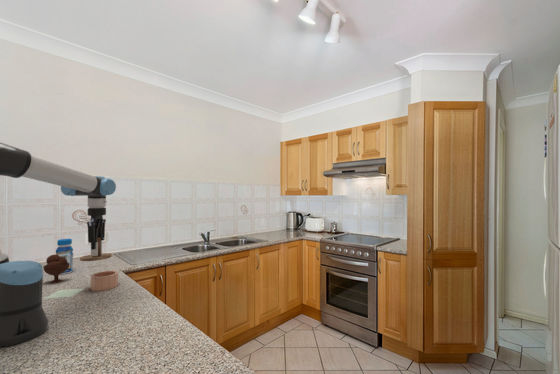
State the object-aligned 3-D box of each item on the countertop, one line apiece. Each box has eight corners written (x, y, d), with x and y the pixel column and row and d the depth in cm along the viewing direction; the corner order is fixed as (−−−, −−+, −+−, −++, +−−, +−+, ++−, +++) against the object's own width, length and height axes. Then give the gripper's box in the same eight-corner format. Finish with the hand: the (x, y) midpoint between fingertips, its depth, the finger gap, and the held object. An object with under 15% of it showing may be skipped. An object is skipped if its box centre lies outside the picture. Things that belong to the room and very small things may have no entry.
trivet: (71, 298, 118) (71, 296, 118) (43, 299, 116) (43, 298, 116) (85, 289, 129) (85, 288, 129) (60, 291, 127) (60, 289, 127)
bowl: (111, 291, 126) (111, 276, 126) (85, 292, 124) (85, 278, 124) (121, 283, 137) (121, 270, 137) (98, 285, 135) (98, 271, 135)
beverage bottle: (76, 270, 162) (77, 238, 162) (63, 275, 153) (64, 240, 154) (64, 270, 162) (64, 238, 163) (50, 274, 154) (51, 240, 155)
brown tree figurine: (54, 286, 133) (54, 257, 134) (36, 285, 135) (37, 256, 136) (74, 280, 143) (75, 252, 144) (58, 279, 146) (58, 251, 146)
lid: (104, 260, 124) (104, 239, 124) (73, 261, 122) (74, 240, 122) (116, 254, 137) (116, 235, 137) (88, 255, 134) (88, 236, 135)
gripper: (96, 208, 122) (96, 258, 122) (112, 206, 139) (112, 250, 138) (78, 208, 121) (78, 259, 120) (97, 206, 137) (96, 251, 137)
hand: (96, 254), depth 129 cm, fingers closed on lid, 4 cm apart
